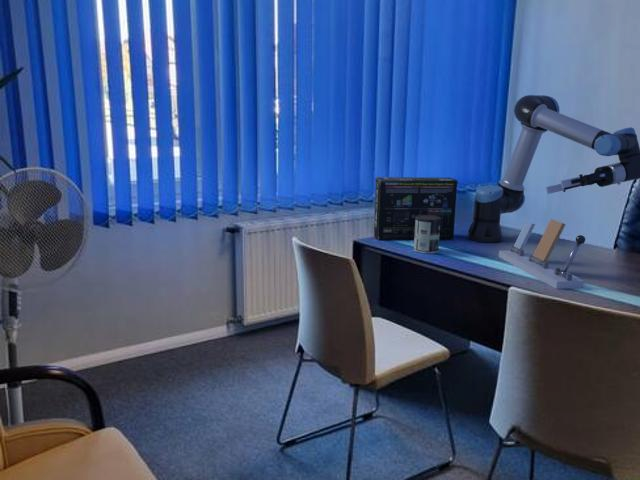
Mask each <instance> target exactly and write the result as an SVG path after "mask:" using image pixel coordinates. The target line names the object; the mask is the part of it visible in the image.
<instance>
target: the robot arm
mask: <svg viewBox="0 0 640 480" xmlns="http://www.w3.org/2000/svg"><path fill="white" fill-rule="evenodd" d="M513 109H514V110H513V112H514V113H513V114H514V117H515V119H517V121H518V122H519V123H520V126H521V128H522V129H521V131H520V134H519V136H518V139H517V142H516V145H515V147H514V150H513V153H512V155H511V158H510V161H509V163H508V166H507V169H506V171H505V174H504V177H503V178H502V179H500V180H499V181H498V184H497V185H483V186H479V187H478V188H477V189H476V190H475V193H474V202H473V204H474V205H473V215H472V222H471V224H470V226H469V228H468V231H467V239H469V240H471V241H475V242H479V243H499V242H502V241H503V232H502V227H501V215H502V214H509V213H510V214H511V213H514V212H516V211H519V210H520V209H521V208H522V207H523V205H524V203H525V200H526V196H525V189H526V188H525V186H524V181H525V179H526V177H527V174H528V171H529V169H530V167H531V164H532V162H533V158H534V156H535V153H536V151H537V148H538V146H539V143H540V140H541V139H542V135H543V134H544V133H546V132H548V131H549V132H551V133H553V134H555V135H559V136H561V137H563V138H566V139H567V140H570V141H572V142H575V143H577V144H580V145H582V146H584V147H587V148H589V149H591V150H595V153H597V154H598V155H599V156H603V157H612V156H617V157H618V161H619V162H616V163H610V164H607V165H604V166H599V167H596V168H595V169H594V172H593V173H590V174H584V175H583V174H582V173H581V174H579V175H578V176H577V177H572V178H568V179H563V180H560V183H559V184H558V183H557V184H553V185H550V186H546V187H545V190H546V193H547V195H549V194H554V193H558V192H564V193H566V191H567V190H570V189H576V188H579V187H585V186H586V187H587V186H592V185H595V184H596V185H597V186H598V187H600V188H603V187H607V186H608V187H609V186H611V185H615V184H617V185H618V186H620V185H621V183H625V182H630V181H634V180H639V179H640V144H639V139H638V135H637V133H636V130H635V128H634V127H630V126H629V127H625V128H621V129H619V130H616V131H614V132H613V133H612V132H609V131H605V130H603V129H601V128H598V127H595V126H593V125H591V124H588V123H586V122H583V121H580V120H578V119H575V118H573V117H570V116H568V115H566V114H563V113H560V111H561V109H560V105H559V103H558V101H557V100H556V99H555V98H554V97H553V96H549V95H541V94H539V95H536V94H529V95H528V94H527V95H524V96H522V97H520V98H519V99H518V100H517V101H516V103H515V105H514V108H513Z"/></svg>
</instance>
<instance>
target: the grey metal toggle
mask: <svg viewBox="0 0 640 480" xmlns="http://www.w3.org/2000/svg"><path fill="white" fill-rule="evenodd" d="M584 243H586V237H585V236H584V235H580V234H579V235H577V236H576V237H575V244H574V245H573V248H572V249H571V252H570V254H569V256H568V258H567V260H566V262H565V263H564V265H563V268H561V269H562V270H561V269H558V270H557V271H556V273H557V274H559V275H561V276H563V277H565V278H566V273H567V272H568V271H569V269H570V267H571V265H572V262H573V261H574V259H575V257H576V255H577V253H578V251H579V248H580V247H581V245H582V244H584Z"/></svg>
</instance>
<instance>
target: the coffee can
mask: <svg viewBox="0 0 640 480" xmlns="http://www.w3.org/2000/svg"><path fill="white" fill-rule="evenodd" d="M415 218H416V221H415V237H414V240H413V251H414V252H416V253H420V254H426V255H427V254H438V252H439V250H440V249H439V247H440V246H439V245H440V240H439V235H440V222H441V217H439V216H435V215H417V216H415Z"/></svg>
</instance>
